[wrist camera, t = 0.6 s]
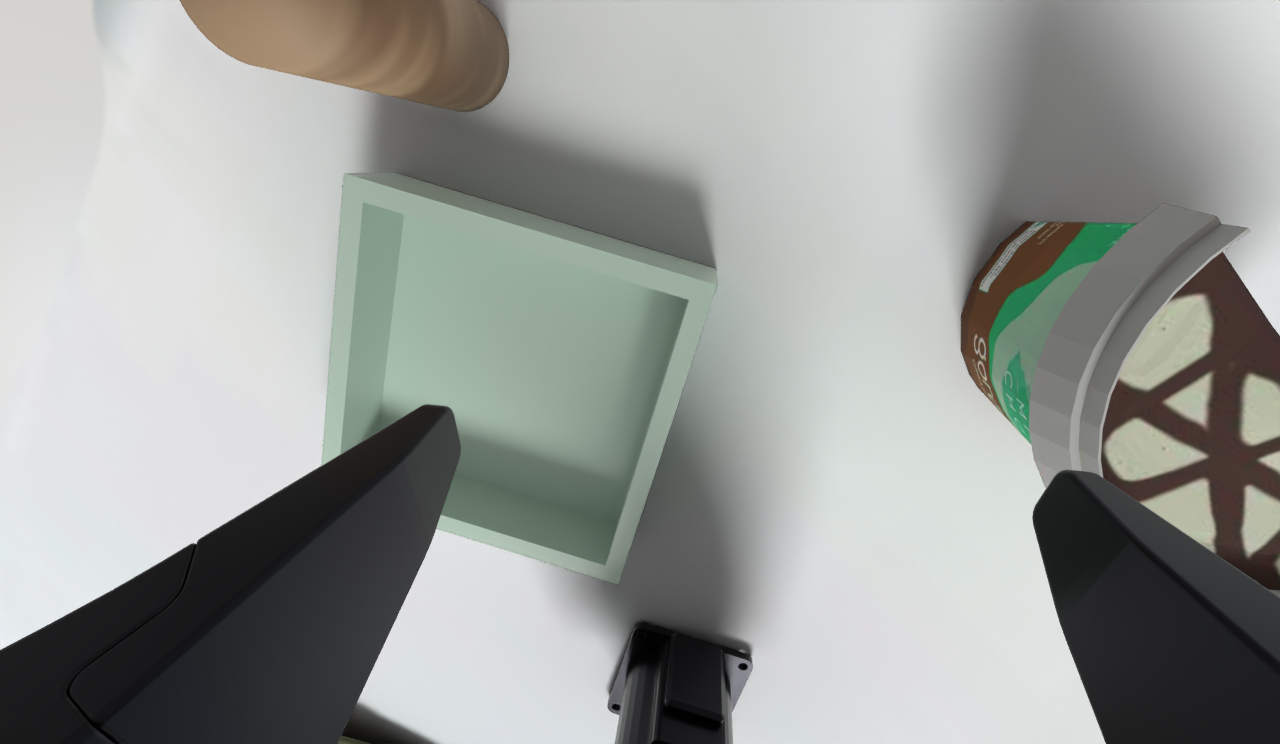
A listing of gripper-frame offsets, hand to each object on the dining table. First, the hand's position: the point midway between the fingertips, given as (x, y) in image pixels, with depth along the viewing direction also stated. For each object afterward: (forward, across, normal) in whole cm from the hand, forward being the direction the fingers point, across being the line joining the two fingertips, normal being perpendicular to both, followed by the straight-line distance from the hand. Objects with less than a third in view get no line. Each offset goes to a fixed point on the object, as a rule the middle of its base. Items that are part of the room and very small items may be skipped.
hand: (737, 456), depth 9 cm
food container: (+15, -12, +7) cm, 21 cm away
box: (+14, +8, +9) cm, 19 cm away
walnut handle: (+17, +11, -3) cm, 21 cm away
